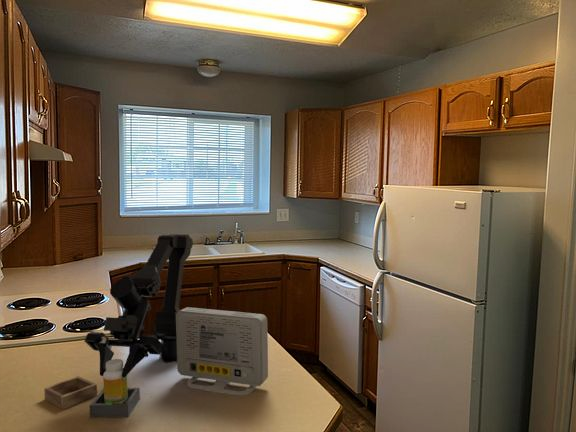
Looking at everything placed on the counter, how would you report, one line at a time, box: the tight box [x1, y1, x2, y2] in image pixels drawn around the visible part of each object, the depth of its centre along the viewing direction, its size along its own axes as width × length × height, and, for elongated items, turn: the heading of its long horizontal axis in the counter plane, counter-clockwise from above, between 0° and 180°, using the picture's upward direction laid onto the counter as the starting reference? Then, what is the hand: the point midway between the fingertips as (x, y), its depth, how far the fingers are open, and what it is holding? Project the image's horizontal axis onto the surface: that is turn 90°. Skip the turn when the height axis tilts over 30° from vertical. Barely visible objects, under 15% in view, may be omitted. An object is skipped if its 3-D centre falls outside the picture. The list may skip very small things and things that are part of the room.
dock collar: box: [89, 387, 141, 419], centre depth 114 cm, size 9×9×4 cm
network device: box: [176, 306, 269, 396], centre depth 126 cm, size 26×9×20 cm, turn 71°
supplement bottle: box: [102, 358, 128, 403], centre depth 114 cm, size 5×5×10 cm
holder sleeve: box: [43, 375, 98, 410], centre depth 120 cm, size 9×9×3 cm
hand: (111, 376), depth 113 cm, fingers closed on supplement bottle, 5 cm apart
